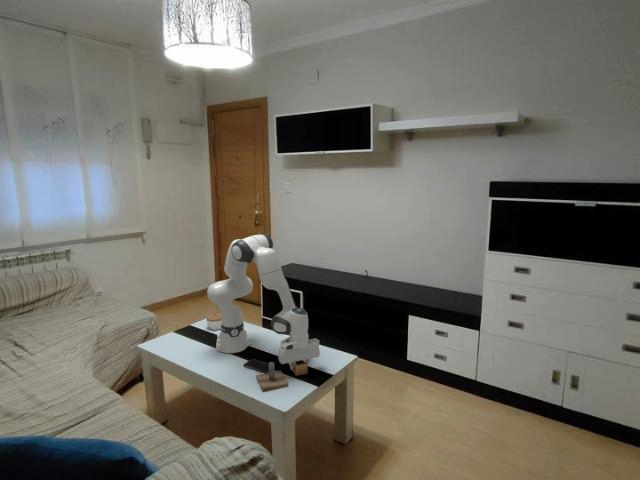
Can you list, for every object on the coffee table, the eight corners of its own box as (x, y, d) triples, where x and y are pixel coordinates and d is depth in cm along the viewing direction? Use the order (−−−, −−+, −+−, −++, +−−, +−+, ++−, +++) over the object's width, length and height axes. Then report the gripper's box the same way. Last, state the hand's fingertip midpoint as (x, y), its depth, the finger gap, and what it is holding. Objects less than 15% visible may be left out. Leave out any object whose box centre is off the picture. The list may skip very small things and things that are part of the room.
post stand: (256, 378, 185) (255, 359, 183) (280, 373, 190) (280, 355, 188) (262, 391, 174) (262, 372, 172) (288, 386, 179) (288, 366, 177)
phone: (266, 373, 189) (242, 365, 196) (266, 375, 189) (242, 367, 196) (276, 365, 195) (252, 358, 202) (276, 367, 196) (252, 360, 203)
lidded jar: (210, 333, 234) (209, 318, 232) (204, 327, 243) (204, 312, 241) (227, 329, 240) (227, 314, 238) (221, 323, 249) (220, 309, 247)
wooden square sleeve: (291, 369, 193) (291, 360, 192) (303, 367, 195) (303, 358, 194) (295, 375, 187) (295, 366, 186) (307, 373, 190) (307, 363, 189)
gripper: (316, 335, 195) (316, 360, 198) (277, 342, 187) (277, 368, 190) (321, 340, 189) (321, 366, 192) (281, 347, 182) (281, 375, 184)
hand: (299, 367), depth 191 cm, fingers closed on wooden square sleeve, 6 cm apart
